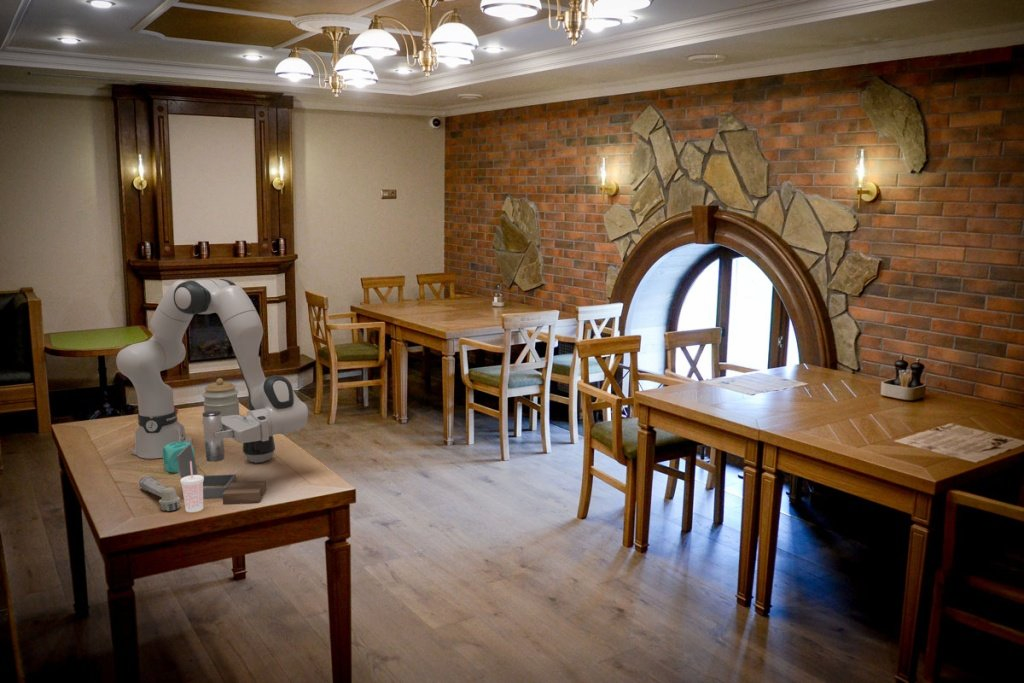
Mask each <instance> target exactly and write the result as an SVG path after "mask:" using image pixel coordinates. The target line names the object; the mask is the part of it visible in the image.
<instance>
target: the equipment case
mask: <svg viewBox="0 0 1024 683" xmlns="http://www.w3.org/2000/svg"><path fill="white" fill-rule="evenodd" d="M176 457H177V461H178V466H179V471H178V473H177V474H179V476H180V477H181V478H180V479H182V478H183V477H186V476H190V475H191V470H190V461H192V472H193V475H199V474H198V470H197V466H196V460H195V461H194V456H193V452H192V448H191V444H189V445H188V446H187V447H186V448H185V449H183V450H182V451H181V452H180V453H179V454H178V455H177V456H176ZM202 476H203V477H204V481H203V499H221V498H222V494H223V492H224V491H225V490H226V488H227V487H228V486H229V484H230V483H231V482H238V479H237V474H236V473H235V474H212V475H211V474H209V475H207V474H205V475H204V474H203V475H202ZM210 486H211V487H210ZM215 486H216V487H215ZM222 499H223V498H222Z"/></svg>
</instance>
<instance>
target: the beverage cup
mask: <svg viewBox="0 0 1024 683" xmlns="http://www.w3.org/2000/svg"><path fill="white" fill-rule="evenodd" d="M190 470H191V475H190V476H186V477H183V478H180V484H181V487H182V494H183V501H184V506H185V512H187V513H197V512H201V511H202V510H204V498H203V488H204V486H203V481H204V477H203V476H204V475H201V474H198V475H193V472H192V461H190Z"/></svg>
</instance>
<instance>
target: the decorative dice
mask: <svg viewBox="0 0 1024 683" xmlns="http://www.w3.org/2000/svg"><path fill="white" fill-rule="evenodd" d="M189 444H191V443H189V442H174V443H170V444H167V445H166V446H165V447H164V448H163V458H162V461H163V466H164V468H165V471H166V472H168V473H170V472H171V473H170V474H179V473H178V471H179V466H178V461H177V457H176V456H177V455H178V454H179V453H180V452H181V451H182V450H183V449H185V448H186V447H187V446H188V445H189ZM191 448H192V452H193V456H194V461H195V462H196V455H195V454H196V453H195V450H194V446H193V444H191Z"/></svg>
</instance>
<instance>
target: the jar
mask: <svg viewBox="0 0 1024 683" xmlns="http://www.w3.org/2000/svg"><path fill="white" fill-rule="evenodd" d="M235 388H236V385H235V384H233V383H232V382H230V381H224V380H223V378H221V377H220V378H217V379H216V380H215V382H212V383H209V384H207V386H205V387H204V390H205V392H203V393H202V397H203V398H204V402H203V409H204V410H203V411H204V412H207V411H220V412H221V417H222V416H230V415H240V405H239V404H240V399H239V398H238V394H239V391H238V390H237V389H235ZM204 412H203V413H204Z"/></svg>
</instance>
